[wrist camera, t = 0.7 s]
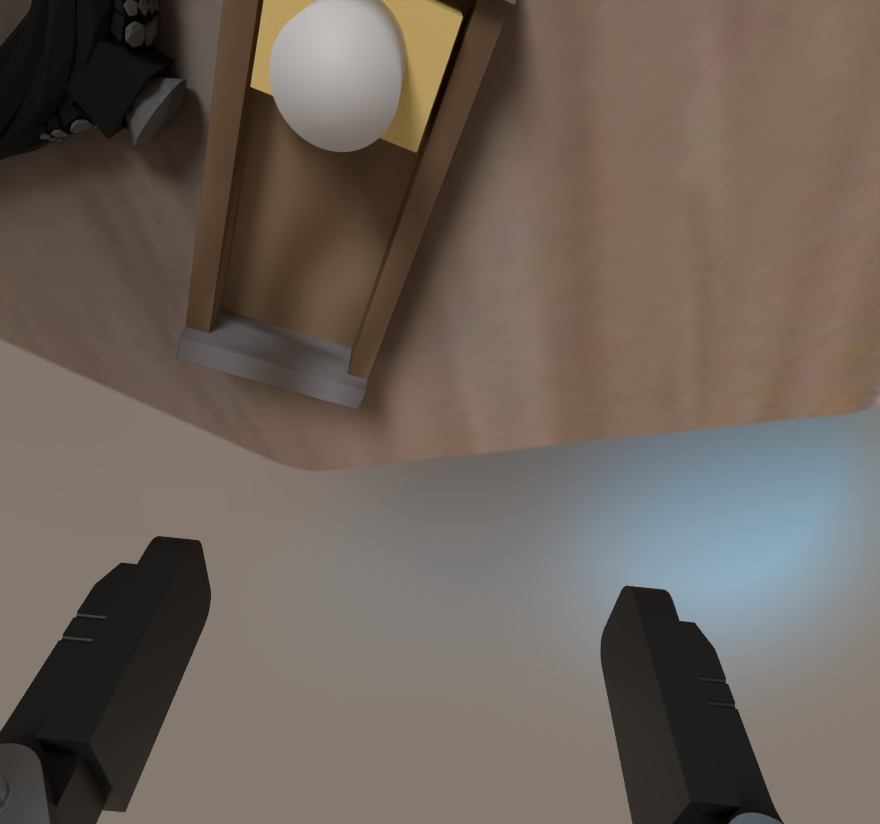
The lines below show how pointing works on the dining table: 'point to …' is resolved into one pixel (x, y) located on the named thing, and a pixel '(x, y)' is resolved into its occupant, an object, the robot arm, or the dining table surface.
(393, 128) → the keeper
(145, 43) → the cable lock
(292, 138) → the wooden tray
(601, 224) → the dining table surface
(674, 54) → the dining table surface
